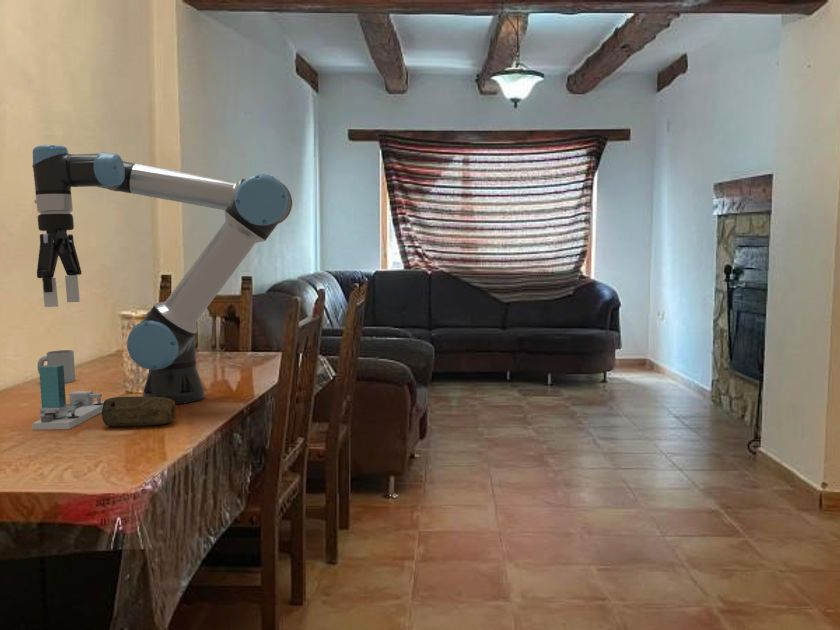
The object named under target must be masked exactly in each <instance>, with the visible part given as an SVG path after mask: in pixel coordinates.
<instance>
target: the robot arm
mask: <svg viewBox="0 0 840 630" xmlns="http://www.w3.org/2000/svg"><path fill="white" fill-rule="evenodd" d="M32 168H33V169H32V170H33V178H34V179H33V180H34V189H35V200H34V204H35V205H36V210H37V211H36V212H38V213H40V214H38V215H37V216H36V217H37V225H38V227H37V229H38V231H41V232H45V233H40V234H39V252H38V259H37V266H36V267H37V268H36V269H37V270H36V278H37V279H41V280H42V281H41V282H42V294H43V305H44V308H51V307H52V308H53V307H54V308H56V307H59V301H58V300H59V299H58V288H57V277H54V276H55V272H56V267H57V264H58V259H60V263H61V264H62V267H63V268H64V272H65V274H66V275H65V276H64V279H65V280H64V281H65V291H66V292H65V293H66V303H79V302H80V301H81V300H80V289H79V279H78V276H81V275H82V269H81V265H80V260H79V258H78V253H77V251H76V249H77V248H76V247H75V241H74V235H73V233H72V234H68V232H67V231H73V230H74V228H75V224H74V215H73V214H72V212H73V211H74V210H73V209H74V208H73V199H72V188H78V187H84V188H85V187H95V188H96V187H97V188H101V189H104V190H105V189H106V190H108V191H109V190H110V191H113V192H121V193H126V194H133V195H139V196H144V197H148V198H156V199H161V200H167V201H171V202H178V203H182V204H183V203H184V204H189V205H194V206H200V207H206V208H211V209H215V210H216V209H217V210H222V211H224V217H225V220H224V222H223V224H222V225H221V227H220V228H219V229H218V231H217V232H216V233H215V234H214V235H213V237H212V239H210V241H209V243H208V244H207V245H206V247H205V248H204V249H203V251H202V252H201V253H200V255H199V256H198V257H197V259H196V260H195V261H194V262H193V264H191V266H190V267H189V269H188V270H187V272H186V274H184V275H183V277H182V279H180V281H179V282H178V284H177V285H176V286H175V288H174V289H173V290H172V292H171V293H170V295H169V296H168V297H167V298H166V300H165V301H162V302H161V301H159V302H156V303H155V304H154V305H153V306H152V308H151V309H150V310H149V311H147V312H146V315H145V317H144V318H143V320H142V321H141V322H139V323H137V324H136V325H135V326H133V328H132V329H131V330H130V332H129V334H128V336H127V340H126V348H127V352H128V354H129V357H130V358H131V360H132V361H133V362H134V363H136V364H135V365H138V366H139V367H141V368H144V369H146V370H148V373H147V378H146V380H145V384H144V387H143V391H142V396H146V397H163V398H169V399H172V400H174V402H175V405H181V404H188V403H193V402H197V401H200V400H202V399H204V398H205V396H206V395H205V387H204V385H203V383H202V380H201V377H200V375H199V374H200V373H199V372H198V369H197V359H196V358H197V357H196V356H197V355H196V334H197V332H198V328H197V322H198V321H199V319H200V317H201V316H202V315H203V313H204V312H205V311H206V310H207V308H208V307H209V306H210V304H211V303H212V302H213V301H214V299H215V298H216V296H217V295H218V294H219V292H221V290H222V288H224V286H225V284H226V283H227V282H228V281H229V279H230V278H231V277H232V275H233V274H234V273H235V271H236V269H238V267H239V266H240V264H242V262H243V261H244V259H245V258H246V257H247V255H248V254H249V252H250V251H251V250H252V248H253V247H254V246H255V244H257V243H261V242H266V241H267V239H268V238H269V237H270V235H271V234H272V232H274V230H275V229H276V227H277V226H278V225H279V224H281V223H282V222H284V221H286V219H287V218H288V217H289V215H290V213H291V211H292V208H293V198H292V195H291V192H290V191H289V189H288V188H287V186H286V185H285V184H284V183H283V182H282V181H280V180H279V179H278V178H276V177H275V176H273V175H270V174H265V173H263V174H255V175H252V176H249V177H247V178H246V179H244V178H241V179H239V180H238V181H234V180H228V179H223V178H217V177H211V176H206V175H200V174H195V173H194V174H193V173H190V172H189V173H188V172H184V171H178V170H173V169H166V168H162V167H161V168H160V167H157V166H150V165H145V164H140V163H135V162H130V161H124V160H123V159H122V157H121V155H119V154H118V153H114V152H113V153H110V152H109V153H108V152H101V153H81V154H80V153H79V154H75V153H74V154H72V153H70V152H69V151H68V148H67V147H66V146H65V145H58V144H52V145H51V144H43V145H42V144H41V145H37V146H35V147H33V149H32Z"/></svg>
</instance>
